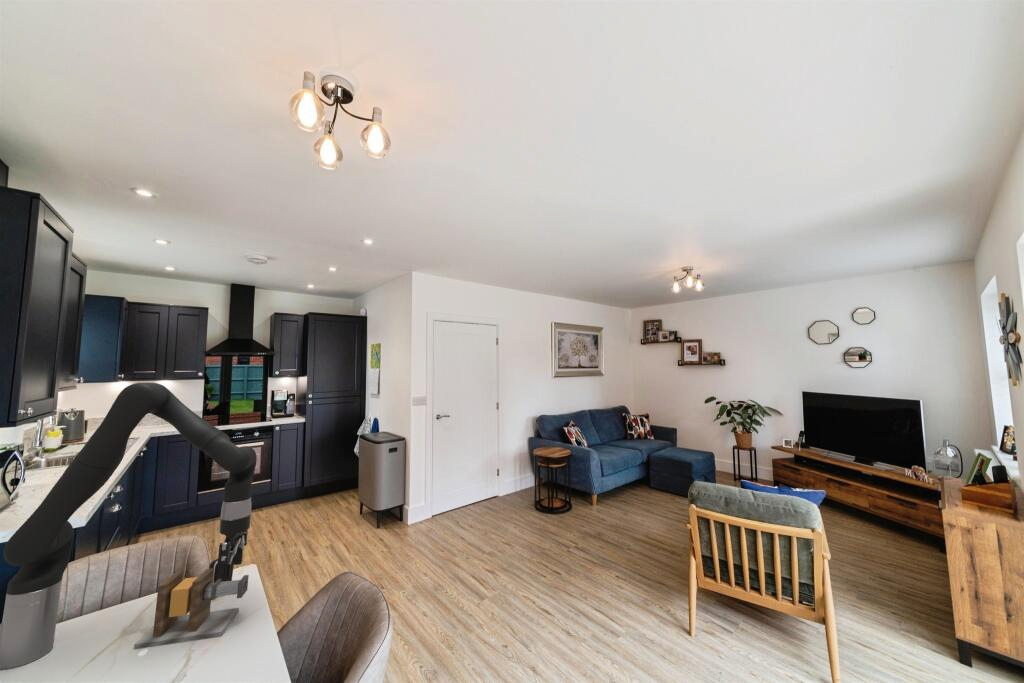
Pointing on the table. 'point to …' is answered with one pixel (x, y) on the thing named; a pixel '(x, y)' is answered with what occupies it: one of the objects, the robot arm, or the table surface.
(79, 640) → the table surface
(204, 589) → the shaft
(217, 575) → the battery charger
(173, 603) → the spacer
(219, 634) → the stand
